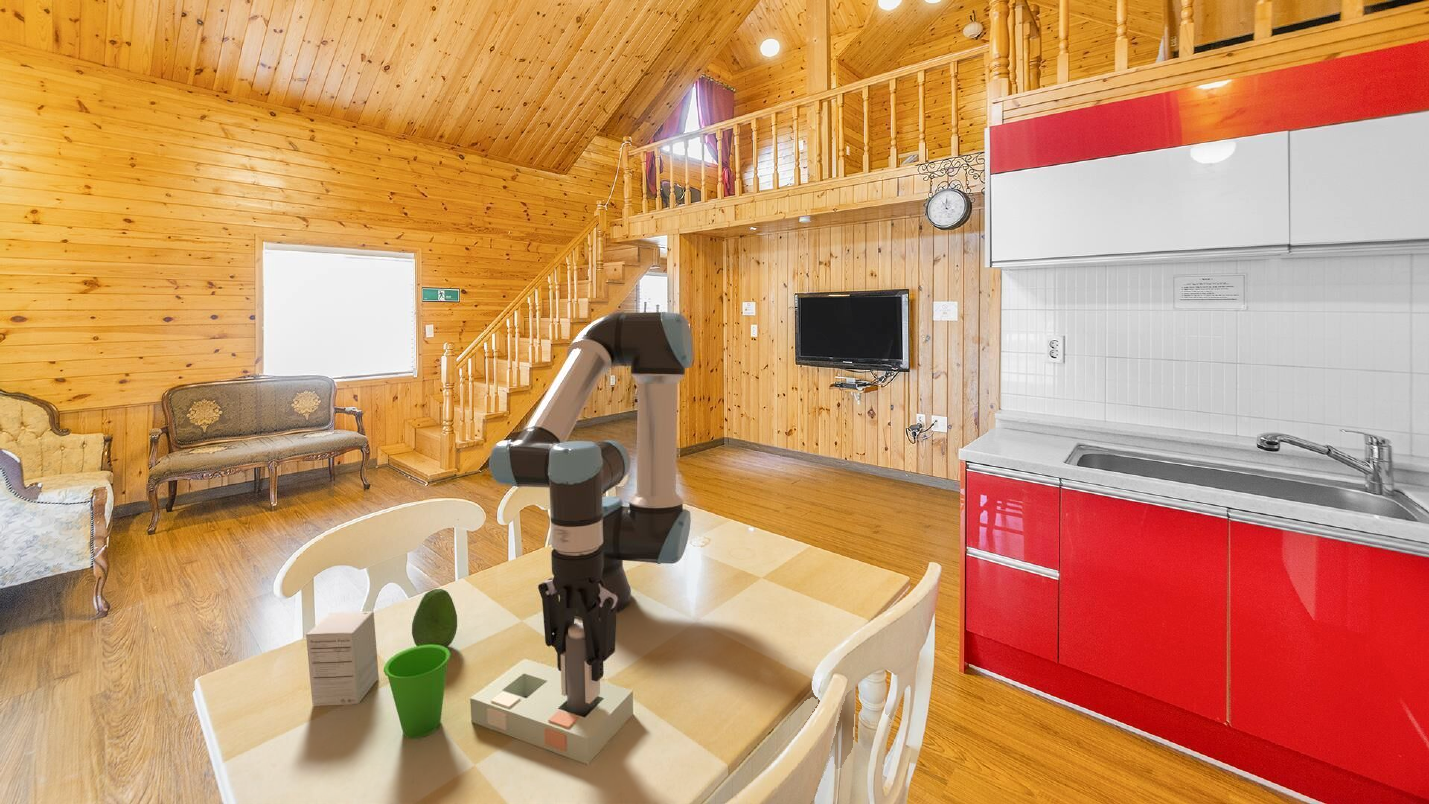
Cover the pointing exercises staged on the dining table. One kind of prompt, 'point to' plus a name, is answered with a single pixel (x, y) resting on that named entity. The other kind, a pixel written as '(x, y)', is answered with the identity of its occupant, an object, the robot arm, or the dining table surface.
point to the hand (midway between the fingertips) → (580, 693)
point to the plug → (576, 670)
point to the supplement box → (342, 658)
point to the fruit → (435, 619)
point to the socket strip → (550, 711)
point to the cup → (418, 687)
